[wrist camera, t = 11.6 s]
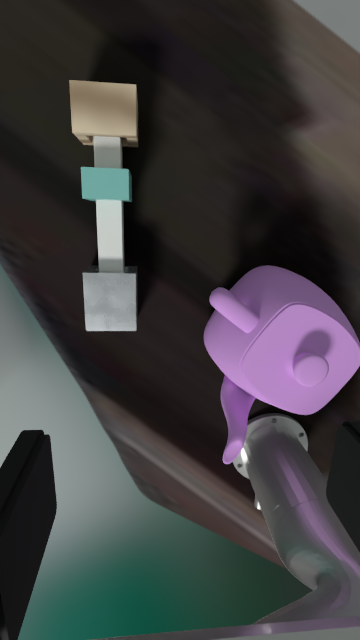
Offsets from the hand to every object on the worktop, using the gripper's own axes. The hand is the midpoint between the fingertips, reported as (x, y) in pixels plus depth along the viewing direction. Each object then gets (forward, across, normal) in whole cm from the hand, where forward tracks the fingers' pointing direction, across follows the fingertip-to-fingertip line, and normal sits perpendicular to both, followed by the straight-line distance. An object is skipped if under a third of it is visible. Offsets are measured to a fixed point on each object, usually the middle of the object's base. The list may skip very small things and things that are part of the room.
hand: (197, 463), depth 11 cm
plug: (+36, +6, -9) cm, 38 cm away
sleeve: (+36, +6, +2) cm, 37 cm away
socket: (+36, +6, -18) cm, 41 cm away
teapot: (+37, -15, +8) cm, 40 cm away
